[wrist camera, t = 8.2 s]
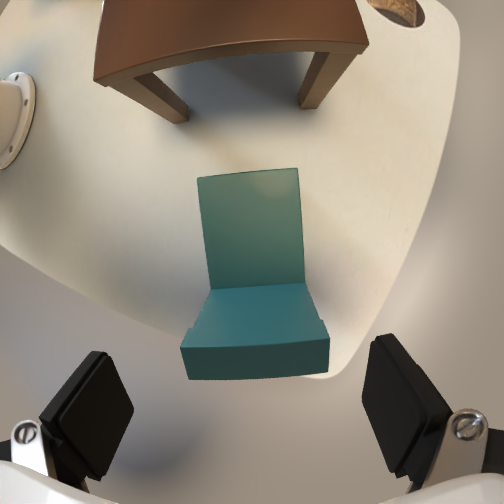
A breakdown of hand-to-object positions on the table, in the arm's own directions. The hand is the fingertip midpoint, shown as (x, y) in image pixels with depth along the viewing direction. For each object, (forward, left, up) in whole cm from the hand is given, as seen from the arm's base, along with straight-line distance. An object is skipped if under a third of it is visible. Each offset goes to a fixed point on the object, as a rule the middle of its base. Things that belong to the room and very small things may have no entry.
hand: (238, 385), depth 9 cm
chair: (+1, +3, -15) cm, 15 cm away
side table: (0, +17, -15) cm, 23 cm away
